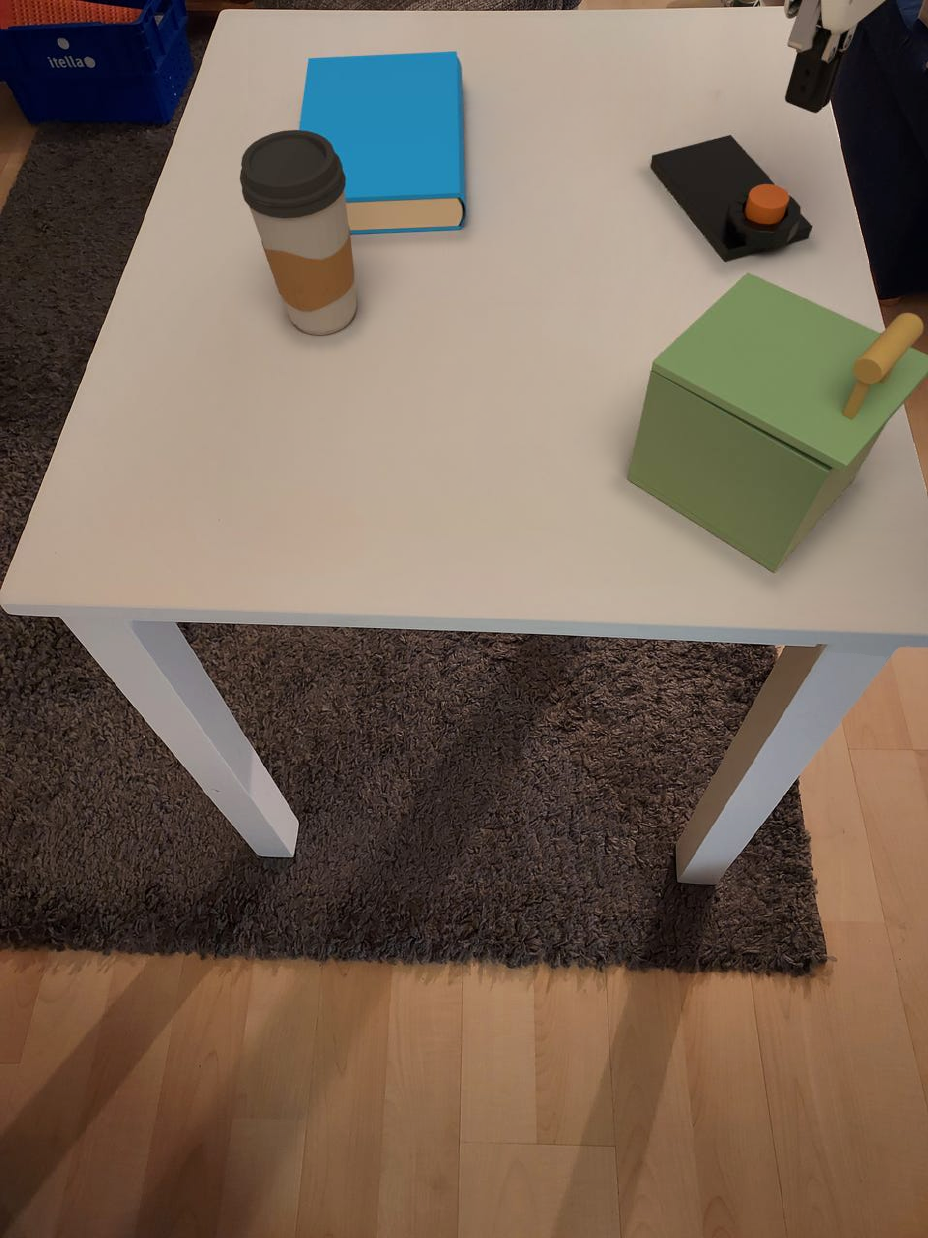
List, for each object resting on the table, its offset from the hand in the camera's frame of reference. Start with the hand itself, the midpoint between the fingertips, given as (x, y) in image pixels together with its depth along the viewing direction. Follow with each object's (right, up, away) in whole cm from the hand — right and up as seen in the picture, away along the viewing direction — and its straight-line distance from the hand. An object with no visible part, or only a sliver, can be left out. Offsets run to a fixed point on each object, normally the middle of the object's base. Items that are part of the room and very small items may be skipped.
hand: (806, 102), depth 69 cm
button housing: (-2, -1, +15) cm, 15 cm away
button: (0, -4, +10) cm, 11 cm away
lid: (-6, -26, -12) cm, 29 cm away
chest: (-6, -31, -2) cm, 32 cm away
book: (-36, +7, +21) cm, 43 cm away
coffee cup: (-41, -14, +9) cm, 44 cm away
